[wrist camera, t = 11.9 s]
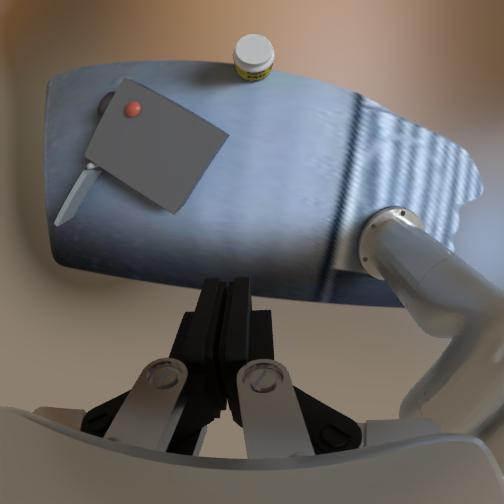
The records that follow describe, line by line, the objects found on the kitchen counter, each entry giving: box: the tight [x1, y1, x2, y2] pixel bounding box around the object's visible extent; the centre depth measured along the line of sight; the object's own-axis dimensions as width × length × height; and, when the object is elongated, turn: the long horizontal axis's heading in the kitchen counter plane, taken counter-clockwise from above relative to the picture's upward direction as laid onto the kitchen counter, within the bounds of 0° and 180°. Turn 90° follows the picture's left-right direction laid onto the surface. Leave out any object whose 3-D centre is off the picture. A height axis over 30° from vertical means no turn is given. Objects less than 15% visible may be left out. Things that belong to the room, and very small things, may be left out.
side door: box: [54, 166, 103, 227], centre depth 35 cm, size 11×2×5 cm, turn 133°
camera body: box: [84, 78, 229, 215], centre depth 32 cm, size 18×13×6 cm
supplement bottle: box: [233, 34, 274, 82], centre depth 26 cm, size 5×5×8 cm
